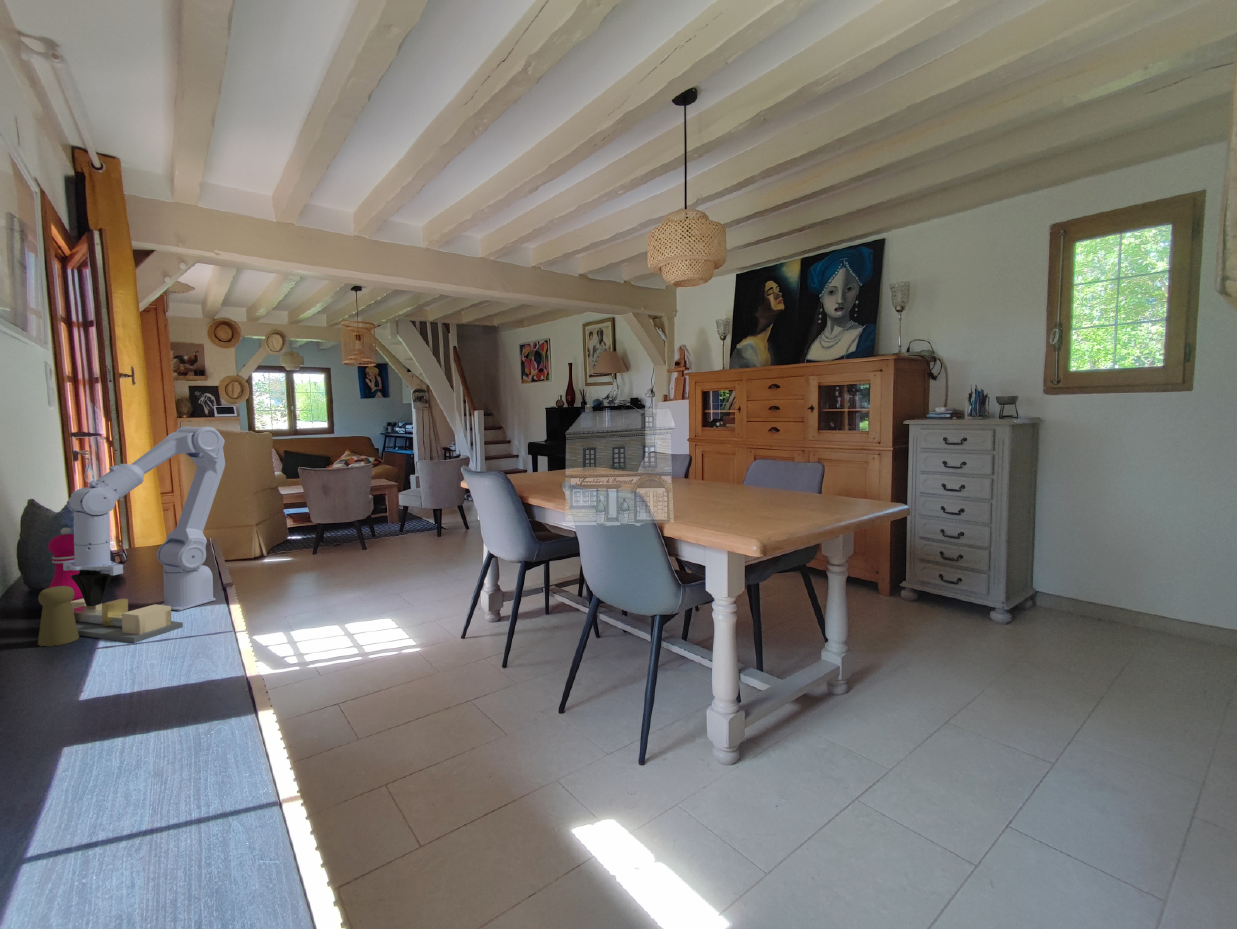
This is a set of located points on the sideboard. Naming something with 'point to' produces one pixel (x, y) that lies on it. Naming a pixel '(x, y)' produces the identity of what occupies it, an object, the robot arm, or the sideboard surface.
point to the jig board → (130, 623)
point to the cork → (57, 617)
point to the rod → (103, 613)
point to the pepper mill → (64, 552)
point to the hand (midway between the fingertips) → (93, 605)
